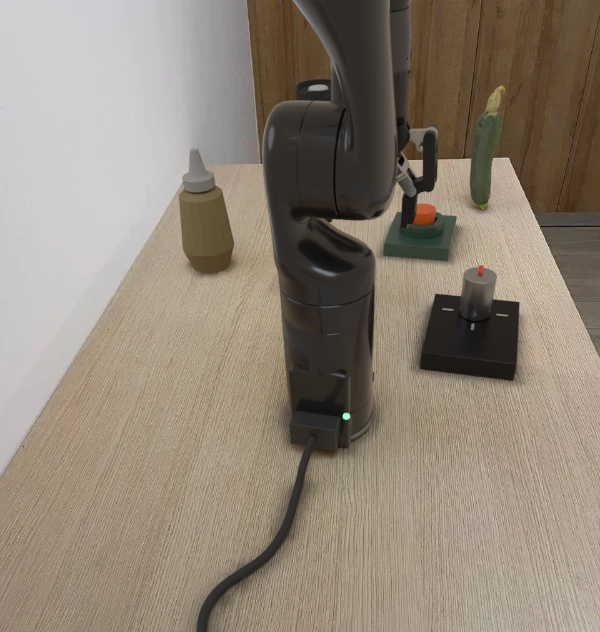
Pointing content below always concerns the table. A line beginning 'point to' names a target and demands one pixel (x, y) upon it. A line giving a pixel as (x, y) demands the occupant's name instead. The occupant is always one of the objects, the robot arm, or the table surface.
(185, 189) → the squeeze bottle
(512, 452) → the table surface
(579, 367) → the table surface
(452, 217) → the button housing
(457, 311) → the panel
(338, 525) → the table surface
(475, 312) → the cooker knob
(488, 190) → the vegetable
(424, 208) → the button
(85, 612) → the table surface
